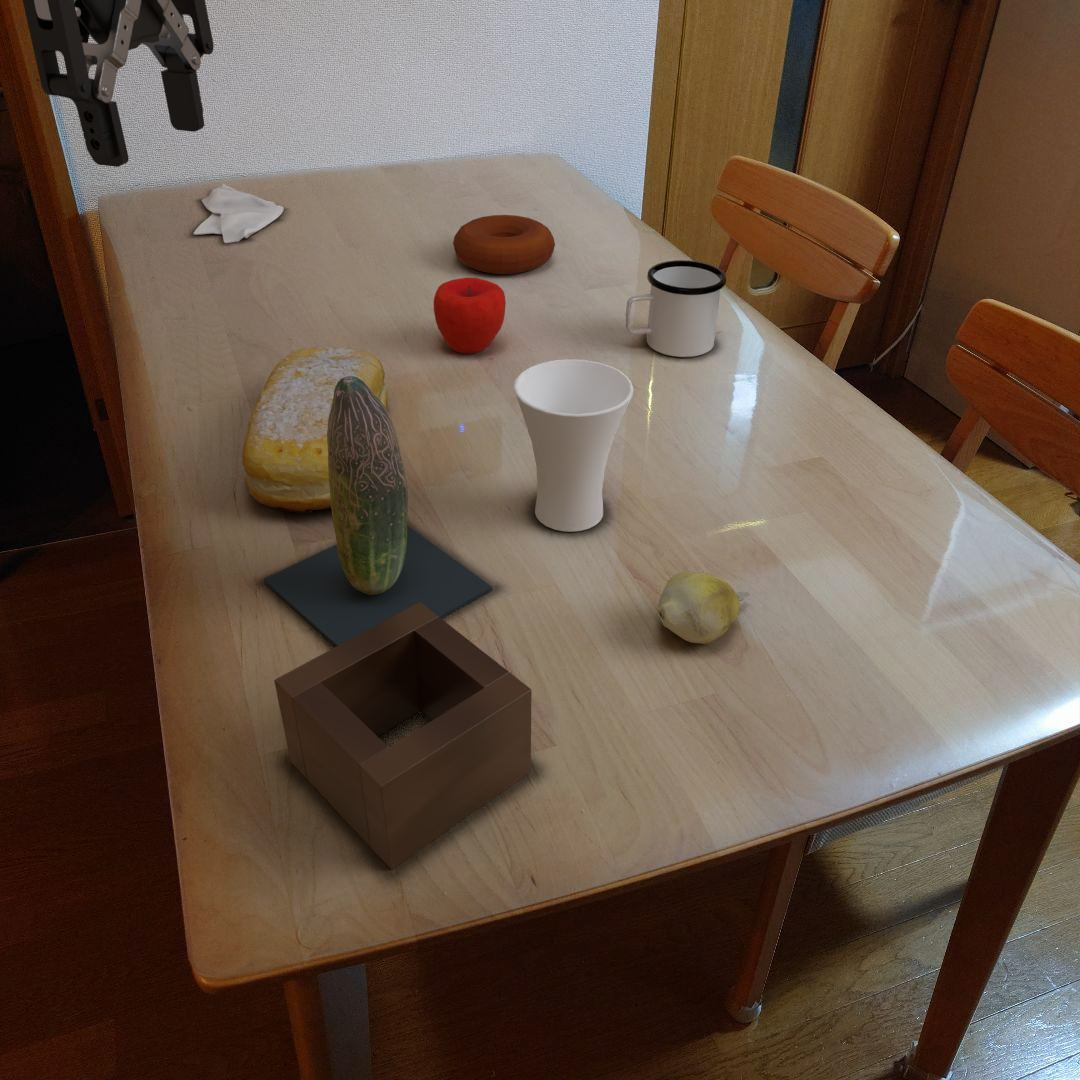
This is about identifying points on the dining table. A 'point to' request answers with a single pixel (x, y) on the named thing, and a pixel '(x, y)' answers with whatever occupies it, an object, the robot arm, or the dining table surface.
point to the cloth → (236, 214)
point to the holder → (423, 756)
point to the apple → (469, 313)
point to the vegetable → (366, 488)
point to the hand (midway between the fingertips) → (151, 146)
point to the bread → (300, 426)
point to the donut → (504, 244)
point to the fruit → (698, 606)
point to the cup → (571, 435)
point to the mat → (350, 612)
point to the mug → (681, 307)
